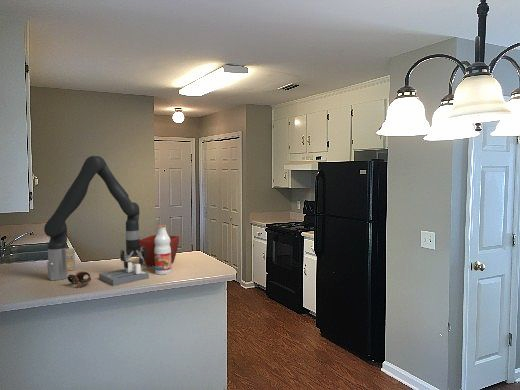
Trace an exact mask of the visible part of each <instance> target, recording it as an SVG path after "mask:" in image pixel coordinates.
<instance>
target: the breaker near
mask: <svg viewBox="0 0 520 390" xmlns="http://www.w3.org/2000/svg"><path fill="white" fill-rule="evenodd" d="M133 267H134V273H135V274H140V273H141V270H142V266H141V264H139V263H134V264H133Z"/></svg>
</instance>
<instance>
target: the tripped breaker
mask: <svg viewBox="0 0 520 390" xmlns="http://www.w3.org/2000/svg"><path fill="white" fill-rule="evenodd" d="M132 267H133V262H131V261H130V262H128V268H126V272H128V273H129V272H133V270H132Z"/></svg>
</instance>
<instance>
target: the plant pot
mask: <svg viewBox="0 0 520 390" xmlns="http://www.w3.org/2000/svg"><path fill="white" fill-rule="evenodd" d="M156 235H157V234H156ZM156 235H149V236H148V237H144V238H140V248H141V247H145V249H146V257H145V258H143V262H144V263H145V266H146V267H154V268H155V254H154V249H155V242H154V239H155V237H156ZM168 236H169V237H170V247H171V264H173V263H174V262H175V259H176V255H177V254H178V253H177V252H178V248H179V247H178V246H179V242H180V236H178V235H168ZM140 254H142V251H141V250H140Z"/></svg>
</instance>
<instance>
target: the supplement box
mask: <svg viewBox="0 0 520 390" xmlns="http://www.w3.org/2000/svg"><path fill="white" fill-rule="evenodd" d="M75 257H76V256H75V247H70V248H67V247H66V258H67V272H68V271H75V269H76V259H75Z"/></svg>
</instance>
